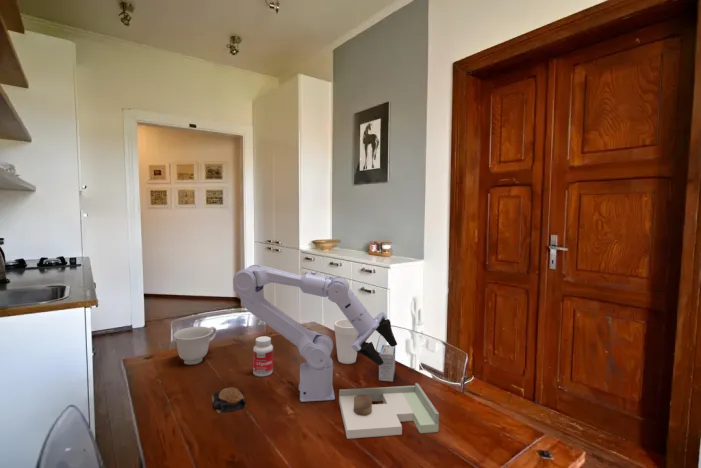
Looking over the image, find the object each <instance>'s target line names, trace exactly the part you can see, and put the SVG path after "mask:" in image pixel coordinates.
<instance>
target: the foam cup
mask: <svg viewBox="0 0 701 468" xmlns="http://www.w3.org/2000/svg"><path fill="white" fill-rule="evenodd" d="M333 329H334V330H333V331H334V335H335V344H336V353H337V355H336V357H337V360H338V362H339V363H341V364H347V365H350V364H354V363H356V361H357V356H358V353H357V351H356V352H355V351H354V349H353V348H352V347H351V345H352V344H353V343H354V341H355V340H356V338H357V337H358V335H359V333H358V332H357V331H356V329H355V328H354V327H353V325H352V324H351V323H350V321H349V320H348V319H347V318H346V319H345V318H343V319H339V320H336V321H335V322H334V323H333Z"/></svg>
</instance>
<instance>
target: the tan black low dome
mask: <svg viewBox="0 0 701 468" xmlns="http://www.w3.org/2000/svg"><path fill="white" fill-rule="evenodd" d="M211 401H212V405H213V407H214V409H215V410H216V412H217V413H218V414H220V415H222V414H223V415H224V414H227V413H232V412H236V411H240V410H243V409H245V408H247V402H246V398H245V394H244V391H243V390H241V389H239V388H237V387H234V386H232V387H228V388H226V387H225V388H223V389H222V390H219V391H216V392H215V393H214V394H213V395H211Z"/></svg>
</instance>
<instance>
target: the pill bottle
mask: <svg viewBox="0 0 701 468" xmlns="http://www.w3.org/2000/svg"><path fill="white" fill-rule="evenodd" d="M271 340H272V337H269V336H266V335H265V336H264V335H263V336H262V335H261V336H259V337H256V338H255V345H254V346H253V350H252V353H253V354H252V373H253V375H254V376H256V377H266V376H270V375H272V373H273V372H274V371H273V370H274V366H273V365H274V346H273V344H272V341H271Z"/></svg>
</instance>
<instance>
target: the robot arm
mask: <svg viewBox="0 0 701 468" xmlns="http://www.w3.org/2000/svg"><path fill="white" fill-rule="evenodd" d="M270 283H274V284H280V285H285V286H291V287H297V288H299V289H300V290H301V292H302V293H304V294H309V295H312V296H317V297H322V298H326V297H328V298H327V299H328V300H329V301H330V302H333V303H335V304H336V305H337V306H338V308H339V309H340V311H341V312H342V314H343V315H344V316H345V318H346V319H348V320H349V321H350V323H351V324H352V325H353V327H354V328H355V329H356V331H357V332H358V333H359V335H358V337H357V338H356V340H355V341H354V343H353V344H352V345H351V347H352V348H353V349H354V351H355V352H356V351H357V354H361V355H362V356H365V357H366V358H368V359H369V360H371V361H372V362H373V363H374V364H376V365H377V366H379V365H382V364H383V363H384V362H383V360H382V359H381V357H380V356H379V353H378V352H377V350H376V348H375V346H374V344H373V342H372V341H370V342H368V341H367V340H369V338H370V337H371V336H372V335H373V333H374V332H375V331H376V332H377V333H378V334H380V335H381V336H382V337H383V339H384V340H385V341H386V342H387V343H388V345H390V346H392V347H393V346H395V347H396V346H398V342H397V340H396V338H395V335H394V333H393V330H392V325H391V320H390V319H388V316H387V315H386V314H385V312H384V311H382V312H380V313H378V314H377V315H376V316H375V317H373V316H372V315H371V314H370V312H369V311H368V310H367V308H366V307H365V306H364V305H363V303H362V301H360V299H359V298H358V297H357V296H356V295H355V293H354V292H353V290H351V289H350V285H349V283H348V281H347V280H346V279H345V278H343V277H341V276H335V277H334V276H333V275H329V276H327V275H321V274H318V273H317V271H315V270H314V271H313V270H312V271H311V272H305V273H304V274H303V275H301V274H299V273H293V272H290V271H285V270H282V269H278V268H274V267H270V266H267V265H259V264H253V265H252V264H251V265H249V266H248V267H245V268H244V269H240V270H238V271H237V272H235V274H234V275H233V277H232V285H233V286H232V288H233V291H234V292H235V293H236V294H237V295H238V296H239V299H240V300H241V302H242V304H243V306H244V308H245V309H246V310H247V311H248V312H249V313H250V314H252V315H253V316H255V317H256V318H257V319H259V320H260V321H261V322H263V323H264V324H265V325H267V326H269V327H270V328H272V329H273V330H274V331H276V332H277V333H279V334H280V335H281V336H283V337H284V338H285V339H287V340H288V341H289V342H291V343H292V344H293V345H295V347H297V349H298V351H299V354H300V356H302V357H303V358H304V359H305V360H306V362H303V363H300V365H299V383H298V391H299V401H300V402H301V403H303V402H321V401H334V400H335V399H336V397H335V396H336V395H335V391H334V387H333V373H334V371H333V368H334V361H333V359H332V357H331V354H332V352H333V349H334V342H333V340H332V338H331V337H330V336H328V335H325V334H322V333H319V332H318V331H315V330H311V329H308V328H306V327H305V326H304V325H302V324H301V323H299V322H298V321H297V320H295V319H294V318H293V317H291V316H289V315H288V314H287V313H285V312H284V311H283V310H281V309H280V308H278V306H276V305H274V304H273V303H272V302H270V300H268V299H266V298H265V292H264V287H265V285H268V284H270Z"/></svg>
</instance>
